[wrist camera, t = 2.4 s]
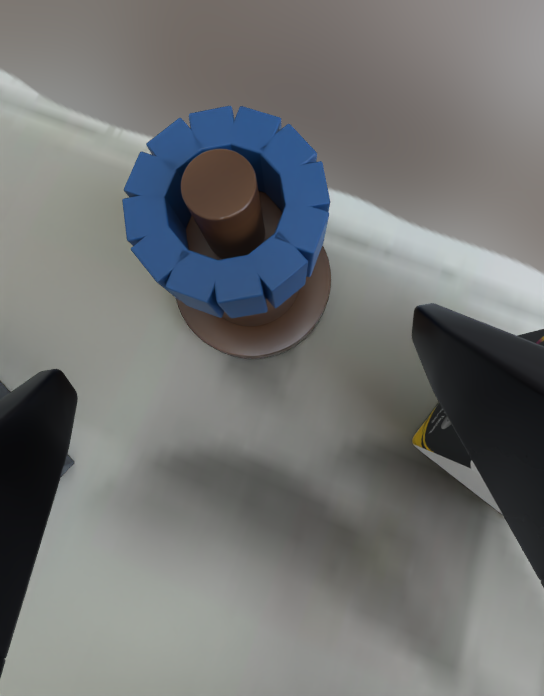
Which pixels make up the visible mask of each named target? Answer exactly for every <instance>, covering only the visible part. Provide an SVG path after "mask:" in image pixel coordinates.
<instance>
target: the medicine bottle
mask: <svg viewBox="0 0 544 696" xmlns="http://www.w3.org/2000/svg"><path fill="white" fill-rule="evenodd" d="M518 337H521V338H523V339H526V340H528V341H531V342H533V343H536V344H538V345H541V346H544V329H542V330H538V331H534V332H530V333H526V334H522V335H518ZM412 443H413V445H414V446H415V447H416V448H417V449H419V450H420V451H421V452H422V453H424V454H425V455H426V456H428V457H429V458H430V459H431V460H433V461H434V462H435V463H437V464H438V465H439V466H440V467H442V468H443V469H444V470H446V471H447V472H448V473H449V474H451V475H452V476H453V477H455V478H456V479H457V480H458V481H460V482H461V483H462V484H464V485H465V486H466V487H467V488H469V489H470V490H471V491H473V492H474V493H475V494H476V495H478V496H479V497H480V498H482V499H483V500H484V501H485V502H487V503H488V504H489V505H491V506H492V507H493V508H494V509H496V510H497V511H498V512H500V513H501V514H502V512H501V511H500V509H499V507H498V505H497V504H496V502H495V500H494V498H493V497H492V495H491V493H490V491H489V489H488V488H487V486H486V484H485V482H484V481H483V479H482V477H481V475H480V473H479V472H478V470H477V468H476V466H475V465H474V463H473V461H472V459H471V458H470V456H469V454H468V452H467V450H466V449H465V447H464V445H463V443H462V442H461V440H460V438H459V436H458V435H457V433H456V431H455V429H454V427H453V426H452V424H451V422H450V420H449V419H448V417H447V415H446V413H445V412H444V410H443V408H442V406H441V404H440V403H438V405H437V406H436V407H435V409H434V410H433V411H432V413H431V414H430V415H429V417H428V418H427V419H426V421H425V422H424V423H423V425H422V426H421V427H420V429H419V430H418V431H417V433H416V434H415V435H414V437H413V439H412ZM502 515H503V514H502Z"/></svg>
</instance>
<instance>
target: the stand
mask: <svg viewBox="0 0 544 696" xmlns="http://www.w3.org/2000/svg"><path fill="white" fill-rule="evenodd" d="M181 194H182V197H183V200H184V202H185V204H186V206H187V208H188V209H189V211H190V213H191V218H190V220H189V222H188V225H187V227H186V235H187V242H188V250H190V251H193V252H196V253H199V254H202V255H205V256H208V257H211V258H213V259H216V260H222V259H227V258H233V257H238V256H244V255H248V254H250V253H251V252H252V251H253V250H255V249H256V248H257V247H258V246H260V245H261V244H262V243H263V242H264V241H266V240H267V239H268V238H269V237H271V236H272V235H273V234H274V233H275V230H276V228H277V225H278V223H279V220H280V217H281V215H282V211H281V210H280V208H279V207H278V206H277V205H276V204H275V203H274V202H273V201H272V200H271V198H270V197H269V196H268V195H267V194H266V193H264V192H261V191H258V185H257V179H256V174H255V171H254V169H253V167H252V165H251V164H250V162H249V161H248V160H247V159H246V158H244V157H243V156H242V155H240V154H239V153H237V152H235V151H232V150H228V149H213V150H209V151H206V152H204V153H201V154H200V155H198V156H197V157H195V158H194V159H193V160H192V161H191V162H190V163H189V164H188V166H187V167H186V169H185V171H184V173H183V176H182V180H181ZM330 286H331V272H330V265H329V260H328V257H327V254H326V251H325V249H324V247H323V245H322V248H321V250H320V253H319V256H318V258H317V261H316V264H315V266H314V269H313V272H312V275H311V276H310V277H307V276H306V282H305V285H304V286H303V287H302V288H301V289H299V290H298V291H297V292H296V293H294V294H293V295H292V296H291V297H290V298H288V299H287V300H286V301H285V302H283V303H282V304H281V305H280V306H279V307H277V308H276V309H275V308H274V307H273V306H272V305H271V303H270V302H269V301H268V300H267V299H266V302H267V308H268V311H267V312H266V313H260V314H254V315H249V316H243V317H237V318H229V316H228V315H227V314H226V313H225V312H224V314H223V316H222V318H219V317H216V316H214V315H211V314H208V313H205V312H203V311H200V310H197V309H194V308H192V307H189V306H187V305H186V304H184V303H183V302H182V301H181V300H178V299H177V298H176V300H177V303H178V307H179V309H180V312H181V314H182V316H183V318H184V320H185V321H186V323H187V325H188V326H189V327H190V328H191V330H192V331H193V332H194V333H195V334H196V335H197V336H198V337H199V338H200V339H201V340H203V341H204V342H205V343H207V344H208V345H210V346H211V347H213V348H215V349H217V350H219V351H221V352H223V353H225V354H228V355H231V356H235V357H239V358H248V359H257V358H266V357H271V356H274V355H278V354H281V353H283V352H285V351H287V350H289V349H291V348H293V347H294V346H296V345H297V344H299V343H300V342H301V341H302V340H304V339H305V338H306V337H307V336H308V335H309V334H310V333H311V332H312V330H313V329H314V328H315V326H316V325H317V323H318V322H319V320H320V318H321V316H322V314H323V312H324V309H325V307H326V304H327V301H328V298H329V293H330Z"/></svg>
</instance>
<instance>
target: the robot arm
mask: <svg viewBox="0 0 544 696" xmlns="http://www.w3.org/2000/svg"><path fill="white" fill-rule="evenodd" d="M412 340H413V343H414V346H415V348H416V351H417V353H418V355H419V358H420V360H421V363H422V365H423V368H424V370H425V373H426V375H427V377H428V380H429V382H430V385H431V387H432V389H433V391H434V393H435V395H436V397H437V399H438V401H439V403H440V404H441V406H442V408H443V410H444V412H445V413H446V415H447V417H448V419H449V420H450V422H451V424H452V426H453V427H454V429H455V431H456V433H457V435H458V436H459V438H460V440H461V442H462V443H463V445H464V447H465V449H466V450H467V452H468V454H469V456H470V458H471V459H472V461H473V463H474V465H475V466H476V468H477V470H478V472H479V473H480V475H481V477H482V479H483V481H484V482H485V484H486V486H487V488H488V489H489V491H490V493H491V495H492V497H493V498H494V500H495V502H496V504H497V505H498V507H499V509H500V511H501V512H502V514H503V516H504V518H505V520H506V521H507V523H508V525H509V527H510V528H511V530H512V532H513V534H514V535H515V537H516V539H517V541H518V543H519V544H520V546H521V548H522V550H523V551H524V553H525V555H526V557H527V558H528V560H529V562H530V564H531V566H532V567H533V569H534V571H535V573H536V574H537V576H538V578H539V579H540V580H542V581H541V584H542V586H543V587H544V346H541V345H538V344H536V343H533V342H531V341H528V340H526V339H523V338H521V337H518V336H516V335H513V334H511V333H508V332H505V331H503V330H500V329H498V328H495V327H493V326H490V325H488V324H485V323H483V322H480V321H478V320H475V319H472V318H470V317H467V316H465V315H462V314H460V313H457V312H455V311H452V310H450V309H447V308H444V307H442V306H439V305H437V304H434V303H430V304H425V305H419V306H417V307H416V308H415V310H414V317H413V327H412ZM77 399H78V398H77V393H76V391H75V389H74V388H73V386H72V385H71V383H70V382H69V380H68V379H67V378H66V376H65V375H64V373H63V372H62V371H61V370H59V369H51V370H46V371H41V372H39V373H38V374H36V375H35V376H33V377H32V378H31V379H29V380H28V381H26V382H25V383H23V384H22V385H20V386H19V387H18V388H16V389H15V390H13V391H12V392H10V393H9V394H8V395H6V396H5V397H3V398H2V399H0V677H1V674H2V671H3V667H4V664H5V658H6V656H7V653H8V650H9V647H10V643H11V640H12V637H13V633H14V630H15V627H16V623H17V620H18V617H19V613H20V610H21V607H22V603H23V600H24V597H25V594H26V590H27V587H28V584H29V580H30V577H31V574H32V570H33V567H34V564H35V560H36V557H37V554H38V550H39V547H40V544H41V540H42V537H43V534H44V530H45V527H46V524H47V521H48V517H49V514H50V511H51V507H52V504H53V501H54V497H55V494H56V491H57V487H58V484H59V481H60V477H61V474H62V471H63V467H64V464H65V461H66V457H67V453H68V449H69V444H70V439H71V433H72V428H73V422H74V417H75V411H76V406H77Z"/></svg>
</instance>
